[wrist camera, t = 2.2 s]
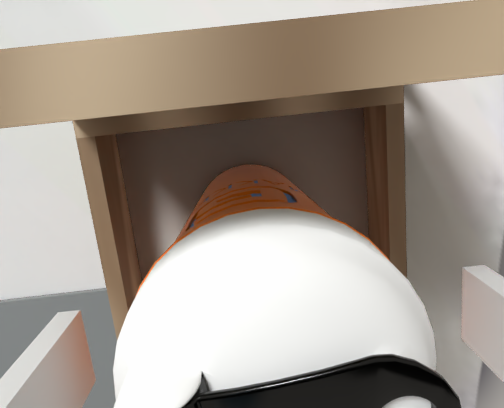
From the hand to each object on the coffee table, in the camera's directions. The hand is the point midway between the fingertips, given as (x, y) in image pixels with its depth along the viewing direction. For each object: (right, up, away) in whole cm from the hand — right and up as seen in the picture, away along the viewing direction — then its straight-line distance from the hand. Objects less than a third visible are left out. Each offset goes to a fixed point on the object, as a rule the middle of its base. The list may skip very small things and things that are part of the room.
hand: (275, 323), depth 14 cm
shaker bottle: (-1, +3, +14) cm, 15 cm away
